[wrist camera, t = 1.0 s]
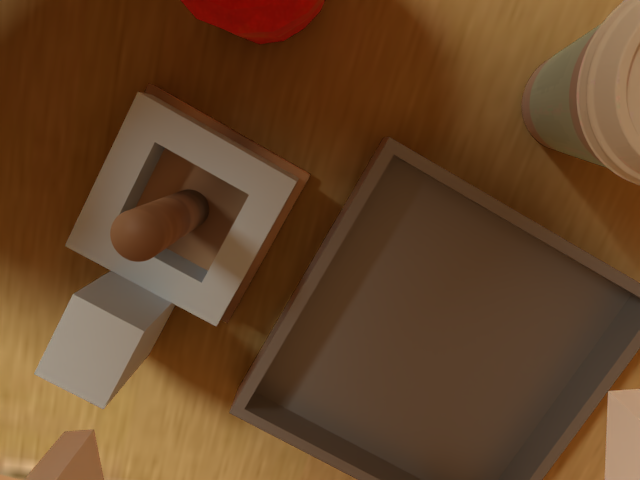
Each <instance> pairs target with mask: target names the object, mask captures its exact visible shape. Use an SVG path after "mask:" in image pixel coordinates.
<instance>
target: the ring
mask: <svg viewBox="0 0 640 480" xmlns="http://www.w3.org/2000/svg"><path fill="white" fill-rule="evenodd" d="M165 148H166V149H168V150H170V151H172V152H174V153H175V154H177V155H179V156H181V157H182V158H184V159H186V160H188V161H190V162H191V163H193V164H195V165H197V166H199V167H200V168H202V169H204V170H206V171H208V172H209V173H211V174H213V175H215V176H216V177H218V178H220V179H222V180H224V181H225V182H227V183H229V184H231V185H233V186H234V187H236V188H238V189H240V190H241V191H243V192H245V193H247V194H249V196H248V198H247V200H246V201H245V203H244V205H243V207H242V209H241V211H240V213H239V214H238V216H237V218H236V220H235V222H234V224H233V226H232V227H231V229H230V231H229V233H228V235H227V237H226V239H225V240H224V242H223V244H222V246H221V248H220V250H219V252H218V253H217V255H216V257H215V259H214V261H213V263H212V265H211V266H210V268H209V270H208V271H207V270H206V269H204V268H202V267H200V266H198V265H196V264H194V263H193V262H191V261H189V260H187V259H185V258H183V257H182V256H180V255H178V254H176V253H174V252H172V251H170V250H169V249H167V248H166V249H165V250H163V251H162V252H160V253H159V254H157V255H156V256H154V257H153V258H151V259H149V260H147V261H143V262H134V261H130V260H128V259H125V258H124V257H122V256H121V255H120V254H119V253H118V252H117V251H116V250H115V248H114V247H113V245H112V242H111V238H110V230H111V226H112V223H113V221H114V220H115V218H116V217H117V216H118V215H120V214H121V213H123V212H125V211H127V210H130V209H133V208H135V207H136V205H137V203H138V201H139V199H140V197H141V195H142V193H143V191H144V189H145V187H146V185H147V183H148V181H149V179H150V177H151V175H152V173H153V171H154V169H155V167H156V165H157V163H158V161H159V159H160V157H161V155H162V153H163V151H164V149H165ZM298 180H299V178H298V177H296V176H294V175H293V174H291V173H289V172H287V171H286V170H284V169H282V168H280V167H279V166H277V165H275V164H273V163H272V162H270V161H268V160H266V159H265V158H263V157H261V156H259V155H257V154H256V153H254V152H252V151H250V150H249V149H247V148H245V147H243V146H242V145H240V144H238V143H236V142H235V141H233V140H231V139H229V138H227V137H226V136H224V135H222V134H220V133H219V132H217V131H215V130H213V129H212V128H210V127H208V126H206V125H205V124H203V123H201V122H199V121H198V120H196V119H194V118H192V117H190V116H189V115H187V114H185V113H183V112H182V111H180V110H178V109H176V108H175V107H173V106H171V105H169V104H168V103H166V102H164V101H162V100H160V99H159V98H157V97H155V96H153V95H150V94H146V93H142V92H138V93H137V95H136V97H135V99H134V101H133V103H132V105H131V107H130V109H129V112H128V114H127V116H126V118H125V120H124V122H123V124H122V126H121V128H120V130H119V133H118V135H117V137H116V139H115V141H114V143H113V145H112V147H111V149H110V152H109V154H108V156H107V158H106V160H105V162H104V164H103V166H102V168H101V171H100V173H99V175H98V177H97V179H96V181H95V183H94V185H93V187H92V190H91V192H90V194H89V196H88V198H87V200H86V202H85V204H84V206H83V209H82V211H81V213H80V215H79V217H78V219H77V221H76V223H75V225H74V227H73V230H72V232H71V234H70V236H69V238H68V240H67V242H66V244H65V246H66V247H68V248H69V249H71V250H73V251H75V252H77V253H79V254H81V255H83V256H84V257H86V258H88V259H90V260H92V261H94V262H96V263H98V264H100V265H101V266H103V267H105V268H107V269H109V270H111V271H110V272H108V273H106V274H105V275H103V276H101V277H100V278H98V279H97V280H95V281H93V282H92V283H90V284H88V285H87V286H85V287H83V288H82V289H80V290H79V291H77V292H75V293H74V294H73V295H72V297H71V299H70V301H69V303H68V305H67V307H66V309H65V311H64V313H63V315H62V317H61V319H60V322H59V324H58V326H57V328H56V330H55V332H54V334H53V336H52V338H51V340H50V342H49V344H48V346H47V348H46V350H45V352H44V354H43V356H42V358H41V361H40V363H39V365H38V367H37V369H36V371H35V373H34V374H35V375H37V376H39V377H41V378H43V379H45V380H47V381H49V382H50V383H52V384H54V385H56V386H58V387H60V388H62V389H64V390H66V391H68V392H70V393H72V394H74V395H76V396H78V397H80V398H82V399H84V400H86V401H88V402H90V403H92V404H94V405H96V406H98V407H100V408H102V409H104V408H105V407H106V406H107V405H108V403H109V402H110V401H111V400H112V399H113V397H114V396H115V395H116V394H117V393H118V391H119V390H120V389H121V388H122V386H123V385H124V384H125V383H126V382H127V380H128V379H129V378H130V377H131V376H132V374H133V373H134V372H135V371H136V370H137V368H138V367H139V366H140V365H141V364H142V362H143V361H144V360H145V359H146V358H147V356H148V355H149V354H150V352H151V350H152V348H153V346H154V344H155V342H156V341H157V339H158V337H159V335H160V333H161V331H162V329H163V327H164V326H165V324H166V322H167V320H168V318H169V316H170V314H171V312H172V311H173V309H174V307H175V305H177V306H178V307H180V308H182V309H184V310H186V311H188V312H190V313H192V314H193V315H195V316H197V317H199V318H201V319H203V320H205V321H207V322H208V323H210V324H212V325H214V326H217V325H218V323H219V321H220V320H221V318H222V316H223V314H224V313H225V311H226V309H227V307H228V306H229V304H230V302H231V300H232V298H233V297H234V295H235V293H236V291H237V289H238V288H239V286H240V284H241V282H242V280H243V279H244V277H245V275H246V273H247V271H248V270H249V268H250V266H251V264H252V262H253V261H254V259H255V257H256V255H257V253H258V252H259V250H260V248H261V246H262V244H263V243H264V241H265V239H266V237H267V235H268V234H269V232H270V230H271V228H272V226H273V225H274V223H275V221H276V219H277V217H278V216H279V214H280V212H281V210H282V208H283V207H284V205H285V203H286V201H287V199H288V198H289V196H290V194H291V192H292V190H293V189H294V187H295V185H296V183H297V181H298Z"/></svg>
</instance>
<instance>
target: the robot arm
mask: <svg viewBox="0 0 640 480" xmlns="http://www.w3.org/2000/svg"><path fill="white" fill-rule="evenodd" d="M24 480H104V478H103V473H102V468H101V463H100V458H99V452H98V447H97V442H96V437H95V432H94V430H81V431H67V432H64V433H63V434H62V435H61V437H60V438H59V439H58V440H57V441H56V442H55V444H54V445H53V446H52V447H51V448H50V450H49V451H48V452H47V453H46V454H45V456H44V457H43V458H42V459H41V460H40V461H39V463H38V464H37V465H36V466H35V467H34V469H33V470H32V471H31V472H30V473H29V474H28V476H27V477H26V478H25V479H24ZM605 480H640V389H629V390H615V391H608V407H607V433H606V459H605Z"/></svg>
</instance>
